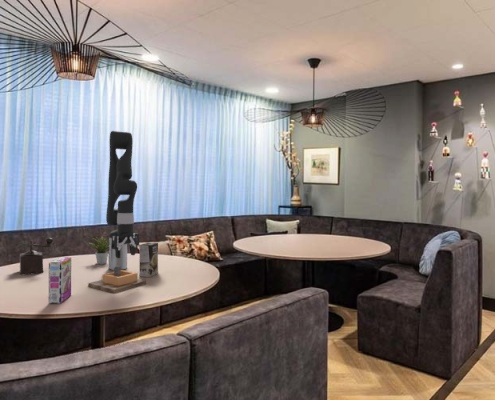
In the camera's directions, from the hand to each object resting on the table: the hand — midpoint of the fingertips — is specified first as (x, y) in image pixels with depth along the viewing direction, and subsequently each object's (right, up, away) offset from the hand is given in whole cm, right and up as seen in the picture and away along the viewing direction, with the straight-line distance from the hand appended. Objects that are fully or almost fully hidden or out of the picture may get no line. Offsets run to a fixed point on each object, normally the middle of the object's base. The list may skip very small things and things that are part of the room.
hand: (125, 256), depth 179 cm
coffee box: (+7, -12, +17) cm, 22 cm away
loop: (-2, -11, -2) cm, 12 cm away
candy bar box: (-18, -14, -25) cm, 34 cm away
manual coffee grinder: (-54, -11, +21) cm, 59 cm away
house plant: (-28, -10, +45) cm, 54 cm away
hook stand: (-3, -13, -3) cm, 13 cm away
